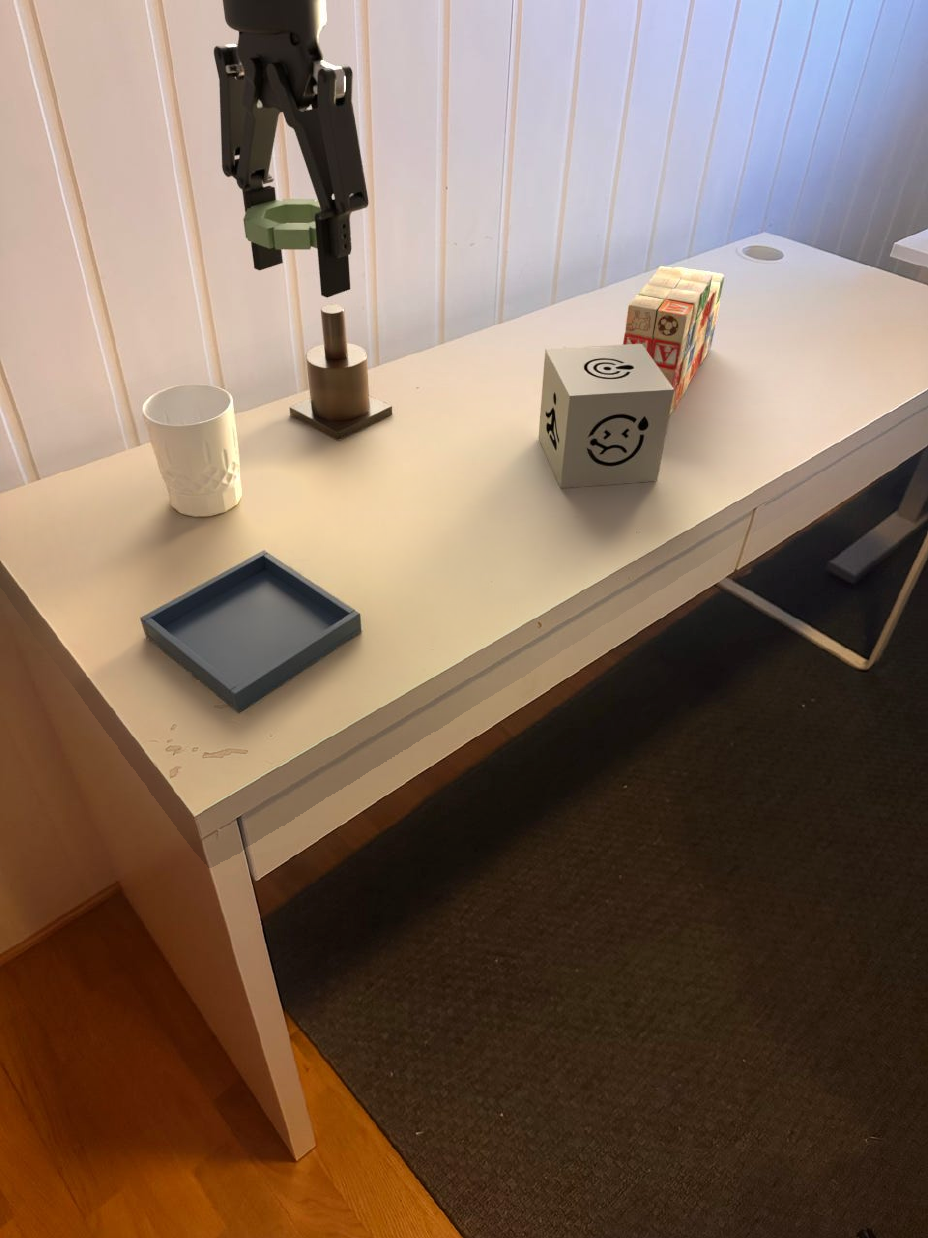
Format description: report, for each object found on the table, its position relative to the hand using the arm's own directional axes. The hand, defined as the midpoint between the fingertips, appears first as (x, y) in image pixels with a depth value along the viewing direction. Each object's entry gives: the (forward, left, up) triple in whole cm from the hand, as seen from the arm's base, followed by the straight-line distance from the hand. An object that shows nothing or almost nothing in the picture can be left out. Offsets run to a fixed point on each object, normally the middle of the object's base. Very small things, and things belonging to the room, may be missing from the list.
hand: (301, 278), depth 79 cm
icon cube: (+20, +20, -19) cm, 34 cm away
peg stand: (-6, +8, -19) cm, 21 cm away
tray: (+16, -21, -19) cm, 33 cm away
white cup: (-3, -12, -19) cm, 23 cm away
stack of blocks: (+15, +41, -19) cm, 48 cm away
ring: (0, 0, +4) cm, 4 cm away
